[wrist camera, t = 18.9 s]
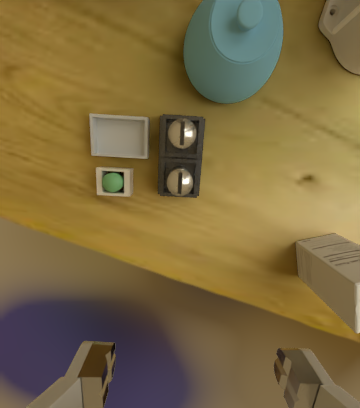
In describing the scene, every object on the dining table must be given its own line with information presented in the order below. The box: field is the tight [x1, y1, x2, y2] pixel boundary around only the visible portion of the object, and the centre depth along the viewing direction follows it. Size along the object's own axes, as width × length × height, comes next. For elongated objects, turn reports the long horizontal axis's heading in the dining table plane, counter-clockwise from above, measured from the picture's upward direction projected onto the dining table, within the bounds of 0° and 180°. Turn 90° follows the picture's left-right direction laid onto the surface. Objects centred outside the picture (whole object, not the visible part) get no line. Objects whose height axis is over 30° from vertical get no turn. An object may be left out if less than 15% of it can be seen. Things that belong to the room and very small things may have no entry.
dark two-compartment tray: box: [158, 114, 205, 198], centre depth 36 cm, size 14×8×4 cm, turn 177°
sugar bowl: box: [183, 0, 283, 104], centre depth 28 cm, size 15×15×12 cm
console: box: [96, 166, 133, 197], centre depth 37 cm, size 5×6×3 cm
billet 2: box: [167, 166, 193, 196], centre depth 34 cm, size 4×4×8 cm
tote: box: [89, 114, 150, 159], centre depth 36 cm, size 7×10×2 cm
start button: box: [102, 172, 124, 192], centre depth 36 cm, size 3×3×3 cm
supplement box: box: [295, 233, 360, 333], centre depth 36 cm, size 9×9×15 cm
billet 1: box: [168, 118, 196, 150], centre depth 32 cm, size 4×4×8 cm
